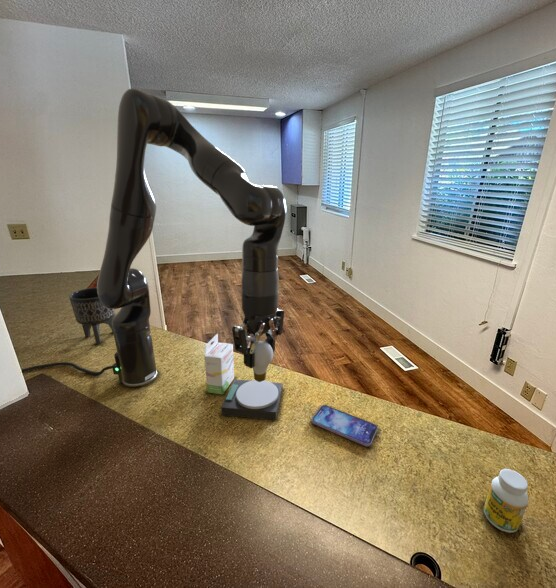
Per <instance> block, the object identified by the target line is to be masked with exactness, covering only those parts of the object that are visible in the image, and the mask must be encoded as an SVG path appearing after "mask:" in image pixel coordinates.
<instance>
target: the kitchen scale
mask: <svg viewBox="0 0 556 588" xmlns="http://www.w3.org/2000/svg"><path fill="white" fill-rule="evenodd" d="M282 393H283V383H282V382H274V381H273V382H272V381H269V380H266V379H265V380H264V381H262V382H258V381H256V380H255V379H254V380H253V379H252V380H249V379H248V380H247V379H237V378H234V379H233V381H232V383H231V386H230V388H229V390H228V392H227V394H226V396H225V399H224V401H223V403H222V405H221V407H220V409H221V410H220V411H221V416H229V417H237V418H238V417H239V418H251V419H262V420H271V421H272V420H273V421H276V420H277V416H278V413H279V407H280V403H281V398H282Z"/></svg>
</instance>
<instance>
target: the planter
mask: <svg viewBox="0 0 556 588" xmlns="http://www.w3.org/2000/svg"><path fill="white" fill-rule="evenodd" d="M68 298H69V301H70V306H71V308H72V311H73V314H74V318H75V322H77V323H78V324H79V325H81V327H82V330H83V334H84V337H85V338H90V337H91V336H92V335H91V329H92V333H93V336H94V340H95V345H96V346H97V345H101V344H102V340H101V334H100V324H101V325H102V324H105V325H107V326H108V327H109V328H110V329H111V332H112V333H113V329H112V324H111V322H112V319H113V317H114V316H115V315H116V309H109V308H107V307H105V306H104V305H103V304H102V303H101V302H100V300H99V297H98V294H97V287H89V288H88V287H87V288H84V289H79V290H77V291H74V292H72V293H70V294H69V295H68Z"/></svg>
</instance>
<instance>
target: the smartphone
mask: <svg viewBox="0 0 556 588" xmlns="http://www.w3.org/2000/svg"><path fill="white" fill-rule="evenodd" d="M311 423H312V424H313V425H314V426H317V427H320V428H321V429H324V430H327V431H329V432H331V433H333V434H336V435H338V436H341V437H343V438H346V439H348V440H350V441H351V442H355V443H357V444H359V445H362V446H365V447H370V446H371V445H372V444H373V442H374V439H375V437H376V434H377V432H378V426H377V425H376V424H375V423H373V422H370V421H367V420H365V419H362V418H360V417H357V416H355V415H353V414H350V413H347V412H344V411H342V410H339V409H336V408H334V407H332V406H329V405H326V404H322V405H321V406H320V407H319V409H318V410H317V411H316V412H315V414H314V415H313V416H312V418H311Z"/></svg>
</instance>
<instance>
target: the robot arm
mask: <svg viewBox="0 0 556 588" xmlns="http://www.w3.org/2000/svg"><path fill="white" fill-rule="evenodd" d="M116 128H117V129H116V131H117V133H116V163H115V175H114V182H113V191H112V197H111V202H110V211H109V220H108V230H107V236H106V242H105V248H104V255H103V257H102V262H101V265H100V270H99V272H98V273H99V274H98V277H97V283H96V288H97V294H98V297H99V300H100V302H101V303H102V304H103V305H104V306H105V307H107V308H109V309H115V310H117V309H120V310H119V311H118V312H117V313H115V316H114V317H113V319H112V322H111V324H112V329H113V332H112V334H113V339H114V343H115V348H116V349H115V350H116V352H115V353H114V354H113V357H114V361H115V363H114V364H112V365H109V366H105V367H103V368H102V369H101V370H100V371H91V370H89V369H86V368H83V367H81V366H79V365H77V364H75V363H73V362H67V361H66V362H65V361H63V362H53V363H47V364H39V365H34V366H30V367H26V368H21V369H22V372H21V373H23V372H27V371H33V370H36V369H42V368H49V367H56V366H70V367H73V368H74V369H76V370H78V371H81V372H83V373H86V374H89V375H93V376H100V375H102V374H104V373H105V372H106V371H108V370H112V372H113V375H117V376H118V381H119V383H120V384H122V385H123V386H125V387H128V388H139V387H144V386H147V385H149V384H150V383H152V382H154V381H155V380H156V379H157V377H158V370H157V365H156V364H157V363H156V357H155V350H154V344H153V336H152V330H151V324H150V317H151V313H152V311H151V299H150V298H151V297H150V289H149V283H148V281H147V278H146V276H145V275H144V274H143V272H141V271H140V270H139V269H137V268H134V267H131V266H132V265H133V262H134V260H135V259H136V257H137V256H138V254H139V253H140V252H141V250H142V249H143V248H144V246H145V245H146V243H147V242H148V240H149V238H150V237H151V235H152V232H153V228H154V224H155V220H156V214H157V202H156V198H155V195H154V192H153V190H152V188H151V186H150V183H149V180H148V178H147V174H146V170H145V162H146V161H145V159H146V150H147V145H151V146H157V147H165V148H168V149H170V150H172V151H174V152H176V153H178V154H179V155H181V156H182V157H183V158H184V159H186V160H187V162H188V165H189V167H190V170H191V171H192V173H193V174H194V175H195V176H196V178H197V179H198V180H199V181H200V182H201V183H203V184H204V185H205V186H206V187H207V188H209V189H210V190H211V191H212V192H214V194H216V195H217V196H219V198H220V199H221V201H222V202H223V204H224V205H225V207H226V208H227V209H228V211H229V212H230V214H231V215H232V216H233V217H234V218H235V219H236V220H237V221H239V222H241V223H242V224H244V225H247V226H251V227H253V231H252V233H251V235H249V236H247V238H245V239H244V240H243V242H242V246H241V248H242V249H241V263H242V265H241V266H242V268H241V269H242V270H241V276H240V277H241V279H240V281H241V310H242V312H243V314H244V318H243V321H242V324H240V325H239V326H237V325H233V326H232V328H231V332H232V338H233V346H234V350H235V352H238V353H240V354H242V355H243V364H244V366H246V367H247V368H249V369H253V367H254V366H255V356H254V349H255V346H256V344H257V343H258V342H259V341H260V339H261V337H262V336H263V335H264V337H265V339H264V341H265V342H267V343H268V344H270V346H271V347H272V349H273V356H274V355H275V351H276V341H277V338H278V336H281V335H282V333H283V326H284V318H285V310H283V309H281V308H279V293H280V291H279V289H280V287H279V285H280V276H279V268H278V267H279V245H280V242H281V239H282V236H283V232H284V227H285V223H286V219H287V202H286V198H285V196H284V194H283V192H282V190H280V189H279V187H277V186H273V185H268V184H267V185H264V184H263V185H262V184H254V183H252V182H250V181H249V178H248V174H247V172H246V170H245V169H244V168H243V167H242V166H241V165H240V164H239V163H237V162H236V161H235V160H234V159H232V157H230V156H229V155H227V154H226V153H224V152H223V151H221V150H220V149H219V148H218V147H216V146H215V145H214V144H213V143H211V142H210V141H209V140H208V139H207V138H205V137H204V136H203V135H202V133H200V132H199V131H198V130H197V129H196V128H195V127H194V126H193V125H192V124H191V123H190V122H189V120H188V119H187V118H186V116H185V115H183V114H182V112H181V111H180V110H179V109H178V108H177V107H176V106H175V105H174V104H173V103H171V102H170V101H168V100H166V99H164V98H162V97H160V96H157V95H154V94H151V93H149V92H146V91H143V90H141V89H138V88H135V87H134V88H128V89H127V90H125V91H124V93H123V94H122V97H121V98H120V101H119V106H118V113H117V127H116ZM252 336H253V337H252ZM249 343H250V344H249ZM249 346H250V347H249Z"/></svg>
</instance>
